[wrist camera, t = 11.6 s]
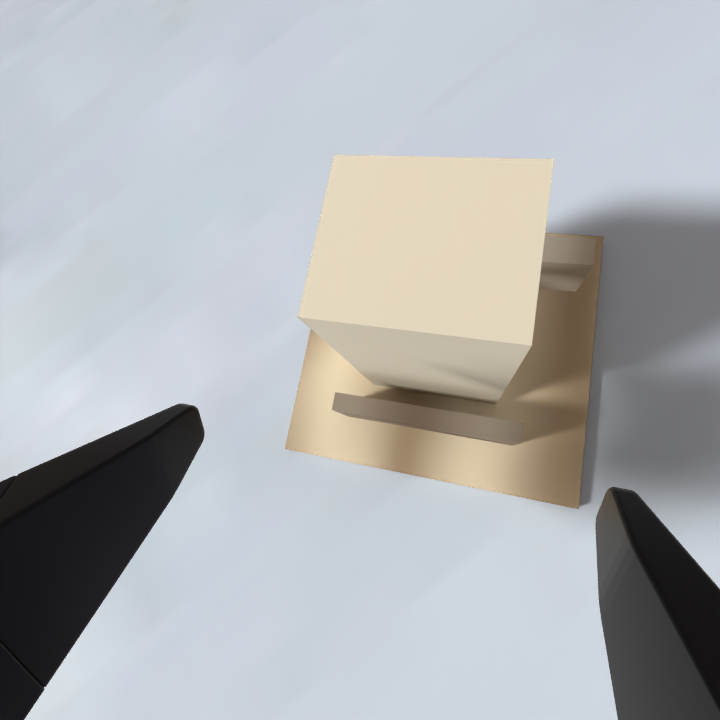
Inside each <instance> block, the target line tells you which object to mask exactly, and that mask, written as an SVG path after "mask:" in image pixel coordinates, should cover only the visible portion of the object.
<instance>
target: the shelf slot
mask: <svg viewBox="0 0 720 720" xmlns="http://www.w3.org/2000/svg"><path fill="white" fill-rule="evenodd" d="M602 247H603V237H602V236H585V235H568V234H551V233H545V239H544V248H543V256H542V264H541V273H540V281H539V290H538V298H537V306H536V315H535V323H534V332H533V340H532V346H531V348H530V349H529V351H528V353H527V354H526V356H525V358H524V359H523V361H522V363H521V364H520V366H519V367H518V369H517V371H516V372H515V374H514V376H513V377H512V379H511V381H510V382H509V384H508V386H507V387H506V389H505V390H504V392H503V394H502V395H501V397H500V399H499V400H498V402H497V404H491V403H484V402H478V401H472V400H465V399H459V398H452V397H446V396H440V395H433V394H427V393H421V392H414V391H408V390H401V389H395V388H389V387H382V386H376V385H373V384H372V383H371V382H370V381H369V380H368V379H367V378H366V377H364V376H363V375H362V374H361V373H360V372H359V371H358V370H357V369H355V368H354V367H353V366H352V365H351V364H350V363H349V362H348V361H346V360H345V359H344V358H343V357H342V356H341V355H340V354H339V353H337V352H336V351H335V350H334V349H333V348H332V347H331V346H330V345H328V344H327V343H326V342H325V341H324V340H323V339H322V338H321V337H320V336H318V335H317V334H316V333H315V332H314V331H313V330H312V329H311V331H310V335H309V340H308V345H307V349H306V354H305V358H304V363H303V368H302V372H301V377H300V382H299V386H298V391H297V395H296V400H295V405H294V409H293V414H292V418H291V423H290V428H289V432H288V437H287V442H286V446H285V449H288V450H293V451H298V452H303V453H308V454H313V455H318V456H322V457H327V458H332V459H337V460H342V461H347V462H352V463H357V464H361V465H366V466H371V467H376V468H381V469H386V470H391V471H396V472H400V473H405V474H410V475H415V476H420V477H425V478H430V479H435V480H440V481H444V482H449V483H454V484H459V485H464V486H469V487H474V488H479V489H483V490H488V491H493V492H498V493H503V494H508V495H513V496H518V497H522V498H527V499H532V500H537V501H542V502H547V503H552V504H557V505H562V506H566V507H571V508H576V509H579V500H580V489H581V478H582V467H583V456H584V445H585V434H586V423H587V412H588V401H589V390H590V379H591V368H592V357H593V346H594V335H595V324H596V313H597V302H598V291H599V280H600V269H601V258H602Z"/></svg>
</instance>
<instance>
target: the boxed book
mask: <svg viewBox="0 0 720 720" xmlns="http://www.w3.org/2000/svg"><path fill="white" fill-rule="evenodd" d="M553 164H554V159H520V158H467V157H415V156H363V155H334V158H333V162H332V167H331V171H330V176H329V180H328V185H327V189H326V194H325V198H324V202H323V207H322V211H321V216H320V220H319V225H318V229H317V234H316V238H315V243H314V247H313V251H312V256H311V260H310V265H309V269H308V274H307V278H306V283H305V287H304V292H303V296H302V301H301V305H300V309H299V314H298V318H299V319H300V320H302V321H303V322H304V323H305V324H306V325H307V326H308V327H309V328H311V329H312V330H313V331H314V332H315V333H316V334H317V335H318V336H320V337H321V338H322V339H323V340H324V341H325V342H326V343H327V344H328V345H330V346H331V347H332V348H333V349H334V350H335V351H336V352H337V353H339V354H340V355H341V356H342V357H343V358H344V359H345V360H346V361H348V362H349V363H350V364H351V365H352V366H353V367H354V368H355V369H357V370H358V371H359V372H360V373H361V374H362V375H363V376H364V377H366V378H367V379H368V380H369V381H370V382H371V383H372V384H373V385H376V386H382V387H389V388H395V389H401V390H408V391H414V392H421V393H427V394H433V395H440V396H446V397H452V398H459V399H465V400H472V401H478V402H484V403H491V404H497V402H498V400H499V399H500V397H501V395H502V394H503V392H504V390H505V389H506V387H507V386H508V384H509V382H510V381H511V379H512V377H513V376H514V374H515V372H516V371H517V369H518V367H519V366H520V364H521V363H522V361H523V359H524V358H525V356H526V354H527V353H528V351H529V349H530V348H531V346H532V340H533V332H534V323H535V315H536V306H537V298H538V290H539V281H540V273H541V264H542V256H543V248H544V239H545V231H546V222H547V214H548V206H549V197H550V189H551V180H552V172H553Z"/></svg>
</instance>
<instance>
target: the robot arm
mask: <svg viewBox="0 0 720 720" xmlns="http://www.w3.org/2000/svg"><path fill="white" fill-rule="evenodd" d="M203 439H204V428H203V425H202V421H201V417H200V414H199V411H198V409H197V408H196V407H195V406H193V405H188V404H177V405H175V406H172V407H170V408H168V409H165V410H163V411H161V412H159V413H156V414H154V415H152V416H150V417H147V418H145V419H143V420H140V421H138V422H136V423H134V424H131V425H129V426H127V427H124V428H122V429H120V430H118V431H115V432H113V433H111V434H108V435H106V436H104V437H102V438H99V439H97V440H95V441H93V442H90V443H88V444H86V445H83V446H81V447H79V448H77V449H74V450H72V451H70V452H67V453H65V454H63V455H61V456H58V457H56V458H54V459H51V460H49V461H47V462H45V463H42V464H40V465H38V466H36V467H33V468H31V469H29V470H26V471H24V472H22V473H20V474H18V475H17V476H12V477H10V478H8V479H6V480H3V481H1V482H0V720H24V719H25V718H26V716H27V715H28V713H29V712H30V710H31V709H32V707H33V706H34V704H35V703H36V701H37V700H38V698H39V697H40V695H41V694H42V692H43V691H44V687H46V686H47V684H48V683H49V681H50V680H51V678H52V677H53V675H54V674H55V672H56V671H57V669H58V668H59V666H60V665H61V663H62V662H63V660H64V659H65V657H66V656H67V654H68V653H69V651H70V650H71V648H72V647H73V645H74V644H75V642H76V641H77V639H78V638H79V636H80V635H81V633H82V632H83V630H84V629H85V628H86V626H87V625H88V623H89V622H90V620H91V619H92V617H93V616H94V614H95V613H96V611H97V610H98V608H99V607H100V605H101V604H102V602H103V601H104V599H105V598H106V596H107V595H108V593H109V592H110V590H111V589H112V587H113V586H114V584H115V583H116V581H117V580H118V578H119V577H120V575H121V574H122V572H123V571H124V569H125V568H126V566H127V565H128V563H129V562H130V560H131V559H132V557H133V556H134V554H135V553H136V551H137V550H138V548H139V547H140V545H141V544H142V542H143V541H144V539H145V538H146V536H147V535H148V533H149V532H150V530H151V529H152V527H153V526H154V524H155V523H156V521H157V520H158V518H159V517H160V515H161V514H162V512H163V511H164V509H165V508H166V506H167V505H168V503H169V502H170V500H171V499H172V497H173V496H174V494H175V492H176V490H177V489H178V487H179V485H180V483H181V481H182V479H183V478H184V476H185V474H186V472H187V470H188V468H189V466H190V464H191V463H192V461H193V459H194V457H195V455H196V453H197V451H198V450H199V448H200V446H201V444H202V442H203ZM596 547H597V569H598V591H599V606H600V613H601V620H602V626H603V632H604V638H605V644H606V650H607V656H608V662H609V668H610V674H611V680H612V686H613V692H614V698H615V704H616V710H617V716H618V720H720V589H719V588H718V586H717V585H716V584H715V583H714V582H713V581H712V579H711V578H710V577H709V576H708V575H707V574H706V573H705V571H704V570H703V569H702V568H701V567H700V566H699V564H698V563H697V562H696V561H695V560H694V559H693V558H692V556H691V555H690V554H689V553H688V552H687V551H686V549H685V548H684V547H683V546H682V545H681V544H680V543H679V541H678V540H677V539H676V538H675V537H674V536H673V535H672V533H671V532H670V531H669V530H668V529H667V528H666V526H665V525H664V524H663V523H662V522H661V521H660V520H659V518H658V517H657V516H656V515H655V514H654V513H653V511H652V510H651V509H650V508H649V507H648V506H647V505H646V503H645V502H644V501H643V500H642V499H641V498H640V496H639V495H638V494H637V493H635V492H634V491H632V490H627V489H622V488H617V487H611V488H609V489H608V490H607V492H606V494H605V497H604V499H603V502H602V504H601V506H600V509H599V511H598V514H597V517H596Z"/></svg>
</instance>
